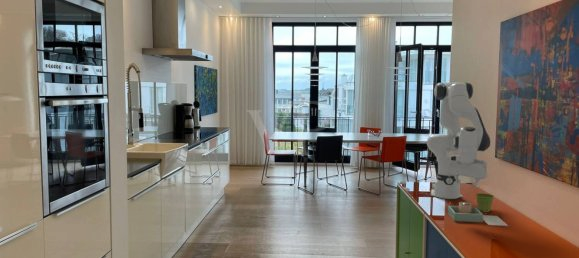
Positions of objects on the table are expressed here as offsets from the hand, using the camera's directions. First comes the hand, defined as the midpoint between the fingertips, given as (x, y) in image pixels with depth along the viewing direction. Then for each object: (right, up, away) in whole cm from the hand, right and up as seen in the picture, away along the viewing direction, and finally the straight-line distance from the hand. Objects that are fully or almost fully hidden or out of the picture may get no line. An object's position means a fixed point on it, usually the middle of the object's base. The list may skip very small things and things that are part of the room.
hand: (466, 184), depth 218 cm
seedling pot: (0, -18, +2) cm, 18 cm away
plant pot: (+16, -17, +15) cm, 27 cm away
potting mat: (+12, -18, -3) cm, 22 cm away
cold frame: (0, -17, +2) cm, 18 cm away
